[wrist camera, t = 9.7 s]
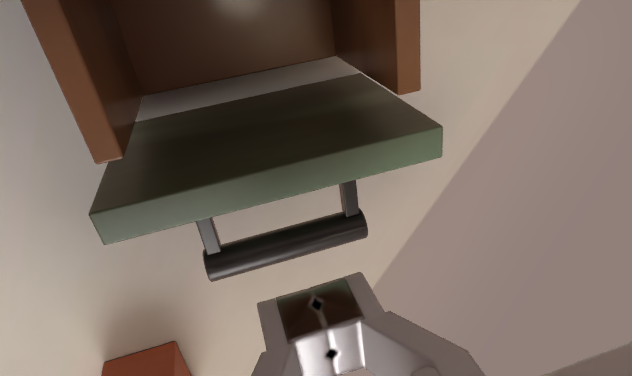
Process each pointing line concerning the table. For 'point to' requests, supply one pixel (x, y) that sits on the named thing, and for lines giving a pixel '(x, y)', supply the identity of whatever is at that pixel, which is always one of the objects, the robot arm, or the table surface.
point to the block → (149, 363)
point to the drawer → (237, 112)
